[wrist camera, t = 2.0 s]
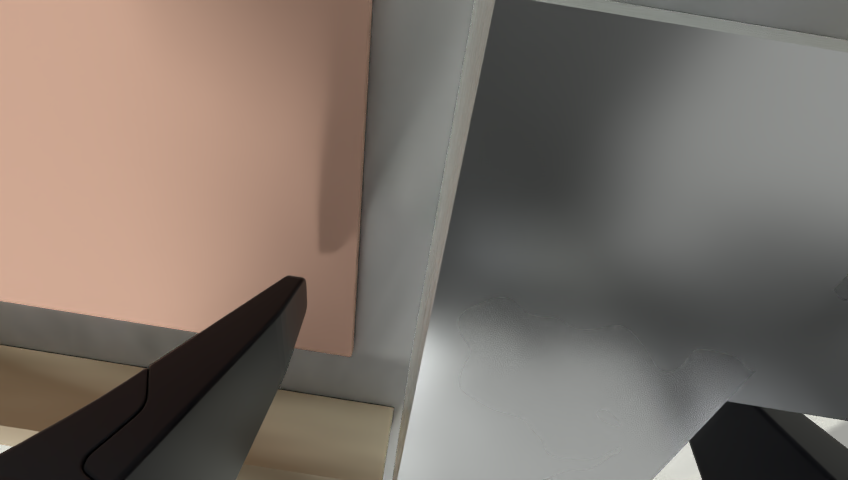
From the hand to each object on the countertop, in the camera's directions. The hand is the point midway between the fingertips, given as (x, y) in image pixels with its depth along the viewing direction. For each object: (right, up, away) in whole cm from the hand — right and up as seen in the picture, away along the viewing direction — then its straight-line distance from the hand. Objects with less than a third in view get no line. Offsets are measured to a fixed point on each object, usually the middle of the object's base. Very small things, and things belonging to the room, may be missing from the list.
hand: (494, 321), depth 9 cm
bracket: (+3, +2, 0) cm, 3 cm away
